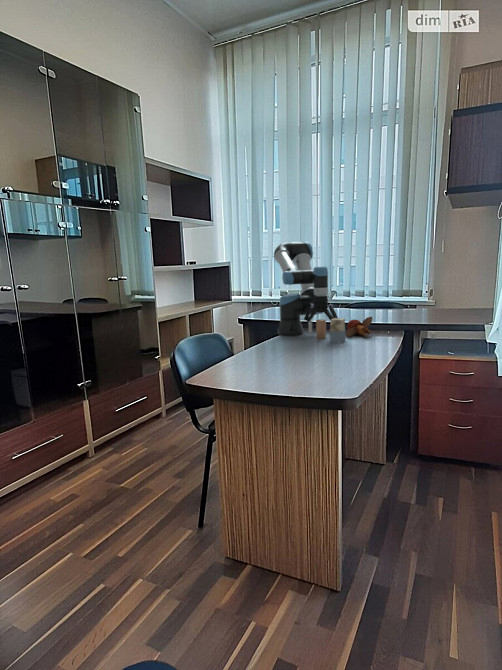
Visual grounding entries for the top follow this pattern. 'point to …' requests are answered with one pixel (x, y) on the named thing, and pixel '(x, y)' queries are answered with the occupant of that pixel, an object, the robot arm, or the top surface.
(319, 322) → the tan rounded cylinder
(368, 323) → the figurine
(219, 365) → the top surface
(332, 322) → the beige cube
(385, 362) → the top surface
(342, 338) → the cube bottom
